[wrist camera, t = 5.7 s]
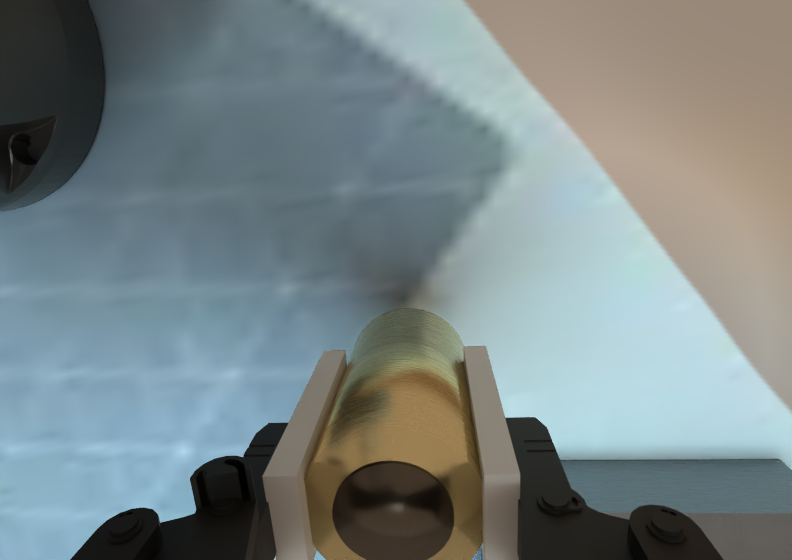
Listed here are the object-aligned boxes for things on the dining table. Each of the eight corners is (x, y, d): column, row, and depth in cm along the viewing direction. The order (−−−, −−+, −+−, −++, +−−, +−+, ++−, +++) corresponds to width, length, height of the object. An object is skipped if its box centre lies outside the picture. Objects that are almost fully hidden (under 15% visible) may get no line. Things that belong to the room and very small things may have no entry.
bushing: (348, 309, 18) (288, 433, 11) (465, 307, 18) (490, 432, 10) (357, 412, 20) (307, 590, 12) (466, 411, 19) (490, 595, 11)
